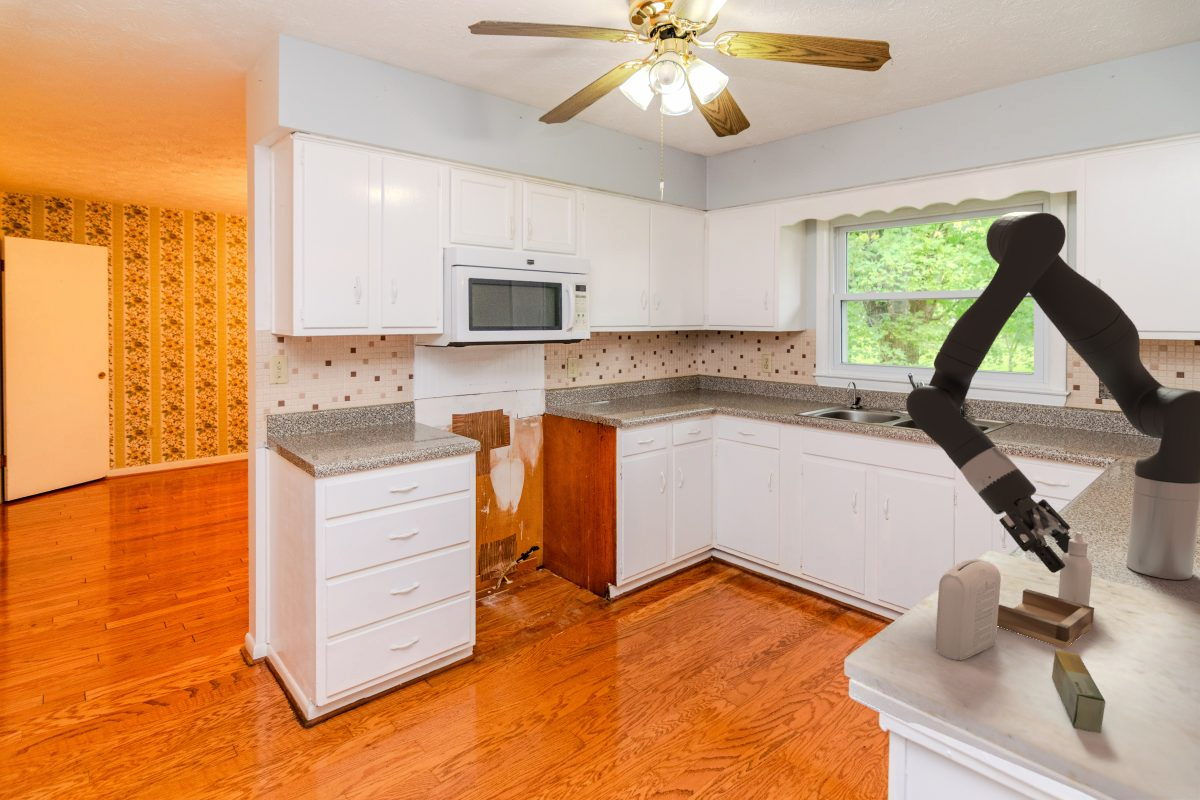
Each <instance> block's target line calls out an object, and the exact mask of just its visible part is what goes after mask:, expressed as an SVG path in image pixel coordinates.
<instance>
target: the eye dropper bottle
mask: <svg viewBox="0 0 1200 800" xmlns="http://www.w3.org/2000/svg"><path fill="white" fill-rule="evenodd" d="M1088 544H1089V543H1088V542H1087V541H1086V540H1084V538H1083V533H1082V532H1080V531H1076V532H1075V535H1074V537H1072V539H1070V540H1069V545H1068V552H1069V553H1063V554H1062V556H1061V558H1060V559H1061V560H1062V561H1063V563H1064V564H1065V567H1064V568H1063V569H1061V570H1059V582H1058V593H1057V594H1058V595H1057V598H1061V599H1064V600H1068V601H1072V602H1075V603H1079V604H1082V605H1086V606H1090V600H1091V599H1090V598H1091V586H1092V576H1093V575H1092V574H1093V564H1092V562H1091V560H1090V558H1089V557H1088V556H1087V555H1088V547H1089V546H1088Z"/></svg>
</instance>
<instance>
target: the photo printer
mask: <svg viewBox="0 0 1200 800" xmlns="http://www.w3.org/2000/svg"><path fill="white" fill-rule="evenodd" d="M1001 580H1002V579H1001V572H1000V571H999V569H998V566H996V564H994V562H990V561H986V560H983V559H979V558H972V559H968V560H963V561H961V562H958V563H956V564H955V565H953V566H952V567H950V568H949V569H948V570H947V571H945V572H944V573H943V575H942V576H941V577H940V579H939V583H938V596H937V608H936V609H937V610H936V611H937V612H936V622H935V623H936V625H935V626H936V627H935V642H934V645H935V650H936V651H937V652H938V653H939V654H940V655H941V656H943V657H945V658H947V659H950V660H955V661H959V660H960V661H961V660H965V659H968V658H971V657H972V656H974V655H977V654H979V653H981V652H983V651H986V650H987V649H990V648H991V647H992V646H994V645H995V644H996V641H997V637H998V636H997V633H998V627H997V621H998V608H999V605H1000V593H1001V592H1000V591H1001Z"/></svg>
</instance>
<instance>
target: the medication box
mask: <svg viewBox="0 0 1200 800" xmlns="http://www.w3.org/2000/svg"><path fill="white" fill-rule="evenodd" d="M1051 681H1052V682H1053V684H1054V687H1055V688H1056V691H1057V694H1058V696H1059V698H1060V701H1061V703H1062V705H1063V707H1064V709H1065V712H1066V714H1067V717H1068V718H1069V719H1068V720H1070V723H1071V725H1072V728H1074V729H1078V730H1083V731H1086V732H1092V733H1098V734H1101V733H1102V727H1103V721H1104V712H1105V709H1106V708H1105V706H1106V700H1105V698H1104V696H1103V695H1102V692H1101V691H1100V689H1099V688H1098V686H1097V684H1096V683H1095V681H1094V679H1093V677H1092V675H1091V673H1090V671H1089V670H1088V669H1087V666H1086V665H1085V663H1084V662H1083V659H1082V658H1081V656H1080V654H1077V653H1072V652H1068V651H1063V650H1058V649H1055V651H1054V656H1053V664H1052V672H1051Z"/></svg>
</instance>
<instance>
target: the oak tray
mask: <svg viewBox="0 0 1200 800" xmlns="http://www.w3.org/2000/svg"><path fill="white" fill-rule="evenodd" d="M1094 618H1095V607H1093V606H1090V605H1089V606H1086V605H1082V604H1079V603H1075V602H1072V601H1068V600H1064V599H1061V598H1058V596H1055V595H1049V594H1046V593H1043V592H1039V591H1036V590H1032V589H1028V588H1025V589H1023V590H1022V599H1021V603H1020V604H1018V605H1016V606H1015V607H1013V608H1012V607H1009V606H1006V605H1002V604H999V608H998V621H997V626H999V627H1002V628H1005V629H1008V630H1011V631H1013V632H1012V633H1014V632H1016V633H1015V634H1017V633H1019V634H1018V635H1020V634H1022V635H1021V636H1023V635H1024V636H1023V637H1026V636H1028V637H1027V638H1029V637H1031V638H1030V639H1033V638H1034V639H1033V640H1036V639H1037V640H1036V641H1039V640H1040V641H1039V642H1042V641H1043V642H1042V643H1045V642H1046V643H1045V644H1048V643H1049V644H1048V645H1051V644H1052V645H1051V646H1054V645H1055V646H1054V647H1057V646H1058V647H1057V648H1060V647H1061V648H1060V649H1063V648H1064V649H1063V650H1066V649H1068V648H1069V647H1070V646H1071V645H1072V644H1074V643H1075V642H1076V641H1077V640H1079V639H1080V638H1081V637H1082V636H1084V635H1085V634H1086V633H1087V632H1089V631H1090V630H1091V629H1092V628H1093V627H1094ZM999 627H998V628H999ZM1091 627H1092V628H1091ZM1002 628H1001V629H1002ZM1090 628H1091V629H1090ZM1005 629H1004V630H1005ZM1089 629H1090V630H1089ZM1008 630H1007V631H1008ZM1088 630H1089V631H1088ZM1011 631H1010V632H1011ZM1086 631H1087V632H1086ZM1085 632H1086V633H1085ZM1084 633H1085V634H1084ZM1083 634H1084V635H1083ZM1081 635H1082V636H1081ZM1080 636H1081V637H1080ZM1079 637H1080V638H1079ZM1078 638H1079V639H1078ZM1076 639H1077V640H1076ZM1075 640H1076V641H1075ZM1074 641H1075V642H1074ZM1073 642H1074V643H1073ZM1071 643H1072V644H1071ZM1070 644H1071V645H1070ZM1069 645H1070V646H1069ZM1068 646H1069V647H1068Z"/></svg>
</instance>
